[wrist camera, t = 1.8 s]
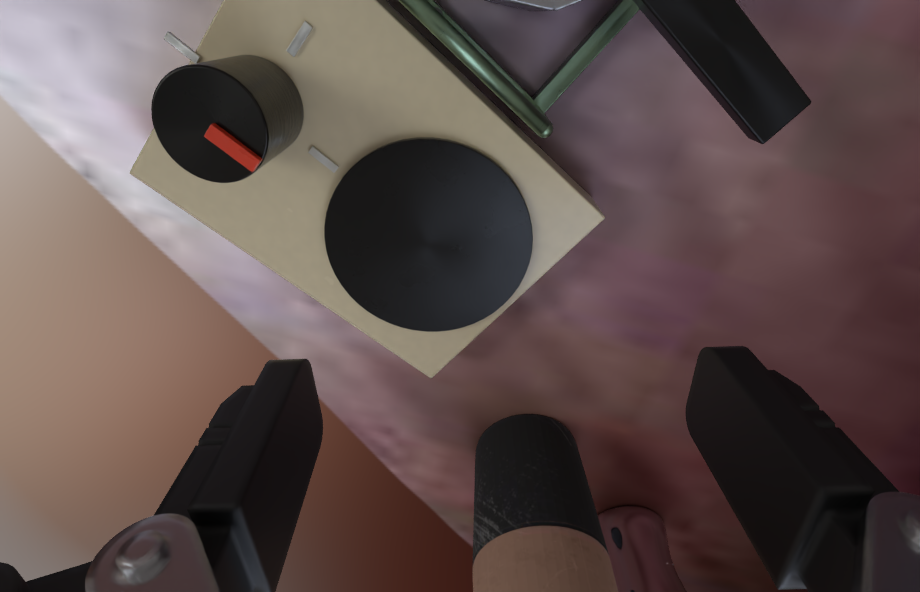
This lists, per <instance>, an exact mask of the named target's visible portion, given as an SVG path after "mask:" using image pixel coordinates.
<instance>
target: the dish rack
mask: <svg viewBox="0 0 920 592" xmlns="http://www.w3.org/2000/svg"><path fill="white" fill-rule="evenodd" d="M398 1H399V2H400V3H401V4H402V5H403V6H404V7H405V8H407V9H408V10H409V11H410V12H411V13H412V14H413V15H414V16H415V17H416V18H417V19H418V20H419V21H420V22H421V23H422V24H423V25H424V26H425V27H426V28H427V29H428V30H429V31H430V32H431V33H432V34H433V35H435V36H436V37H437V38H438V39H439V40H440V41H441V42H442V43H443V44H444V45H445V46H446V47H447V48H448V49H449V50H450V51H451V52H452V53H453V54H454V55H455V56H456V57H457V58H458V59H459V60H460V61H461V62H462V63H464V64H465V65H466V66H467V67H468V68H469V69H470V70H471V71H472V72H473V73H474V74H475V75H476V76H477V77H478V78H479V79H480V80H481V81H482V82H483V83H484V84H485V85H486V86H487V87H488V88H489V89H490V90H492V91H493V92H494V93H495V94H496V95H497V96H498V97H499V98H500V99H501V100H502V101H503V102H504V103H505V104H506V105H507V106H508V107H509V108H510V109H511V110H512V111H513V112H514V113H515V114H516V115H517V116H518V117H519V118H521V119H522V120H523V121H524V122H525V123H526V124H527V125H528V126H529V127H530V128H531V129H532V130H533V131H534V132H535V133H536V134H537V135H538V136H539V137H542V138H546V137H549V136H550V135H551V133H552V131H553V125H552V123H551V122H550V120H549V119H548V118H547V116H546V115H545V114H544V113H545V112H546V111H547V110H548V109H549V108H550V107H551V105H552V104H553V103H554V102H555V101H556V100H557V99H558V98H559V97H560V96H561V95H562V93H563V92H564V91H565V90H566V89H567V88H568V87H569V86H570V85H571V84H572V83H573V81H574V80H575V79H576V78H577V77H578V76H579V75H580V74H581V73H582V72H583V71H584V69H585V68H586V67H587V66H588V65H589V64H590V63H591V62H592V61H593V60H594V59H595V57H596V56H597V55H598V54H599V53H600V52H601V51H602V50H603V49H604V48H605V46H606V45H607V44H608V43H609V42H610V41H611V40H612V39H613V38H614V37H615V36H616V34H617V33H618V32H619V31H620V30H621V29H622V28H623V27H624V26H625V25H626V24H627V22H628V21H629V20H630V19H631V18H632V17H633V16H634V15H635V14H636V13H637V12H638V10H639V7H638V6H637V5H636V4H635V3H634V1H633V0H618V2H617V3H616V4H615V5H614V6H613V7H612V8H611V9H610V11H609V12H608V13H607V14H606V15H605V16H604V17H603V18H602V20H601V21H600V22H599V23H598V24H597V25H596V26H595V27H594V28H593V30H592V31H591V32H590V33H589V34H588V35H587V36H586V37H585V39H584V40H583V41H582V42H581V43H580V44H579V45H578V46H577V48H576V49H575V50H574V51H573V52H572V53H571V54H570V55H569V57H568V58H567V59H566V60H565V61H564V62H563V63H562V64H561V66H560V67H559V68H558V69H557V70H556V71H555V72H554V73H553V75H552V76H551V77H550V78H549V79H548V80H547V81H546V82H545V84H544V85H543V86H542V87H541V88H540V89H539V90H538V91H537V93H536V94H535V95H534V96H533V97H531V96H530V95H529V94H528V93H527V92H526V91H525V90H524V89H523V88H522V87H521V86H520V85H519V84H518V83H517V82H516V81H515V80H514V79H513V78H512V77H511V76H510V75H509V74H508V73H507V72H506V71H505V70H504V69H503V68H502V67H501V66H500V65H499V64H498V63H497V62H496V61H495V60H494V59H493V58H492V57H491V56H490V55H489V54H488V53H487V52H486V51H485V50H484V49H483V48H482V47H481V46H480V45H479V44H478V43H477V42H476V41H475V40H474V39H473V38H472V37H471V36H470V35H469V34H468V33H467V32H466V31H465V30H464V29H463V28H461V27H460V26H459V25H458V24H457V23H456V22H455V21H454V20H453V19H452V18H451V17H450V16H449V15H448V14H447V13H446V12H445V11H444V10H443V9H442V8H441V7H440V6H439V5H438V4H437V3H436V2H435V1H434V0H398Z"/></svg>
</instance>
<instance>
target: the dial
mask: <svg viewBox="0 0 920 592" xmlns="http://www.w3.org/2000/svg"><path fill="white" fill-rule="evenodd" d="M151 110H152V121H153V125H154V129H155V132H156V134H157V137H158V139H159V141H160V143H161V144H162V146H163V148H164V149H165V150H166V152H167V153H168V154H169V156H170V157H171V158H172V159H173V160H174V161H175V162H176V163H177V164H178V165H179V166H181V167H182V168H183V169H185V170H186V171H188V172H189V173H191V174H193V175H195V176H197V177H199V178H201V179H204V180H207V181H211V182H217V183H232V182H237V181H240V180H243V179H245V178H247V177H249V176H250V175H252V174H253V173H255V172H256V171H257V170H259V169H260V168H261V167H263V166H264V165H265V164H267V163H268V162H269V161H271V160H272V159H273V158H275V157H276V156H277V155H279V154H280V153H281V152H283V151H284V150H285V149H286V148H288V147H289V146H290V145H291V144H292V143H293V142H294V141H295V140H296V139H297V137H298V135H299V134H300V131H301V129H302V125H303V118H304V110H303V103H302V100H301V96H300V94H299V91H298V89H297V87H296V86H295V84H294V82H293V81H292V79H291V78H290V77H289V76H288V75H287V73H286V72H285V71H283V70H282V69H281V68H280V67H279V66H277V65H276V64H275V63H273V62H271V61H269V60H267V59H265V58H262V57H259V56H255V55H238V56H233V57H227V58H222V59H217V60H212V61H206V62H201V63H196V64H190V65H185V66H182V67H179V68H176V69H174V70H172V71H171V72H169V73H168V74H167V75H165V77H164V78H163V79H162V80H161V81H160V83H159V84H158V86H157V88H156V90H155V92H154V96H153V100H152V108H151Z"/></svg>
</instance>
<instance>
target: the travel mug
mask: <svg viewBox="0 0 920 592" xmlns="http://www.w3.org/2000/svg"><path fill="white" fill-rule="evenodd" d="M473 592H618V589H617V585H616V581H615V577H614V573H613V569H612V565H611V561H610V557H609V554H608V550H607V546H606V543H605V540H604V536H603V533H602V529H601V526H600V523H599V519H598V516H597V512H596V509H595V506H594V502H593V499H592V495H591V492H590V489H589V485H588V482H587V478H586V475H585V471H584V468H583V465H582V461H581V458H580V455H579V451H578V448H577V445H576V442H575V440H574V438H573V436H572V434H571V433H570V431H569V430H568V429H567V428H566V427H565V426H564V425H562V424H561V423H559V422H558V421H556V420H554V419H552V418H549V417H546V416H541V415H534V414H523V415H515V416H511V417H508V418H505V419H502V420H500V421H498V422H496V423H494V424H493V425H492V426H490V427H489V428H488V429H487V430H486V431H485V432H484V433H483V434H482V436H481V437H480V439H479V442H478V444H477V448H476V459H475V493H474V535H473Z"/></svg>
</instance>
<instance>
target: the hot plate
mask: <svg viewBox="0 0 920 592" xmlns="http://www.w3.org/2000/svg"><path fill="white" fill-rule="evenodd" d="M164 40H166V41H167V42H168V43H169V44H171V45H172V46H173V47H175V48H176V49H177V50H178V51H180V52H181V53H182V54H183V55H185V56H186V57H187V58H189V59H190V60H191V61H190V63H189V65H190V64H196V63H201V62H206V61H212V60H217V59H222V58H227V57H233V56H238V55H255V56H259V57H262V58H265V59H267V60H269V61H271V62H273V63H275V64H276V65H277V66H279V67H280V68H281V69H282V70H283V71H285V72H286V73H287V75H288V76H289V77H290V78H291V79H292V81H293V82H294V84H295V86H296V87H297V89H298V91H299V94H300V96H301V100H302V103H303V110H304V118H303V125H302V129H301V131H300V134H299V135H298V137H297V139H296V140H295V141H294V142H293V143H292V144H291V145H290V146H289V147H288V148H286V149H285V150H284V151H283V152H281V153H280V154H279V155H277V156H276V157H275V158H273V159H272V160H271V161H269V162H268V163H267V164H265V165H264V166H263V167H261V168H260V169H259V170H257V171H256V172H255V173H253V174H252V175H250V176H249V177H247V178H245V179H243V180H240V181H237V182H232V183H217V182H211V181H207V180H204V179H201V178H199V177H197V176H195V175H193V174H191V173H189V172H188V171H186V170H185V169H183V168H182V167H181V166H179V165H178V164H177V163H176V162H175V161H174V160H173V159H172V158H171V157H170V156H169V154H168V153H167V152H166V150H165V149H164V148H163V146H162V144H161V143H160V141H159V139H158V137H157V134H156V132H155V129H153V130H152V132H151V134H150V136H149V138H148V140H147V141H146V143H145V145H144V147H143V149H142V151H141V152H140V154H139V156H138V158H137V160H136V161H135V163H134V165H133V167H132V169H131V171H130V174H131V175H133V176H134V177H136V178H137V179H139V180H140V181H142V182H143V183H145V184H146V185H147V186H149V187H150V188H152V189H153V190H155V191H156V192H158V193H159V194H161V195H162V196H164V197H165V198H167V199H168V200H169V201H171V202H172V203H174V204H175V205H177V206H178V207H180V208H181V209H183V210H184V211H186V212H187V213H189V214H190V215H192V216H193V217H194V218H196V219H197V220H199V221H200V222H202V223H203V224H205V225H206V226H208V227H209V228H211V229H212V230H214V231H215V232H216V233H218V234H219V235H221V236H222V237H224V238H225V239H227V240H228V241H230V242H231V243H233V244H234V245H236V246H237V247H239V248H240V249H241V250H243V251H244V252H246V253H247V254H249V255H250V256H252V257H253V258H255V259H256V260H258V261H259V262H261V263H262V264H263V265H265V266H266V267H268V268H269V269H271V270H272V271H274V272H275V273H277V274H278V275H280V276H281V277H283V278H284V279H286V280H287V281H288V282H290V283H291V284H293V285H294V286H296V287H297V288H299V289H300V290H302V291H303V292H305V293H306V294H308V295H309V296H310V297H312V298H313V299H315V300H316V301H318V302H319V303H321V304H322V305H324V306H325V307H327V308H328V309H330V310H331V311H333V312H334V313H335V314H337V315H338V316H340V317H341V318H343V319H344V320H346V321H347V322H349V323H350V324H352V325H353V326H355V327H356V328H357V329H359V330H360V331H362V332H363V333H365V334H366V335H368V336H369V337H371V338H372V339H374V340H375V341H377V342H378V343H380V344H381V345H382V346H384V347H385V348H387V349H388V350H390V351H391V352H393V353H394V354H396V355H397V356H399V357H400V358H402V359H403V360H404V361H406V362H407V363H409V364H410V365H412V366H413V367H415V368H416V369H418V370H419V371H421V372H422V373H424V374H425V375H427V376H428V377H429V378H433V377H434V376H435V375H436V374H437V373H438V372H439V371H440V370H441V369H442V368H443V367H445V366H446V365H447V364H448V363H449V362H450V361H451V360H452V359H453V358H454V357H455V356H456V355H457V354H459V353H460V352H461V351H462V350H463V349H464V348H465V347H466V346H467V345H468V344H469V343H470V342H472V341H473V340H474V339H475V338H476V337H477V336H478V335H479V334H480V333H481V332H482V331H483V330H485V329H486V328H487V327H488V326H489V325H490V324H491V323H492V322H493V321H494V320H495V319H496V318H498V317H499V316H500V315H501V314H502V313H503V312H504V311H505V310H506V309H507V308H508V307H509V306H511V305H512V304H513V303H514V302H515V301H516V300H517V299H518V298H519V297H520V296H521V295H522V294H524V293H525V292H526V291H527V290H528V289H529V288H530V287H531V286H532V285H533V284H534V283H535V282H537V281H538V280H539V279H540V278H541V277H542V276H543V275H544V274H545V273H546V272H547V271H548V270H550V269H551V268H552V267H553V266H554V265H555V264H556V263H557V262H558V261H559V260H560V259H561V258H562V257H564V256H565V255H566V254H567V253H568V252H569V251H570V250H571V249H572V248H573V247H574V246H575V245H577V244H578V243H579V242H580V241H581V240H582V239H583V238H584V237H585V236H586V235H587V234H588V233H590V232H591V231H592V230H593V229H594V228H595V227H596V226H597V225H598V224H599V223H600V222H601V221H603V220H604V218H605V216H604V215H603V213H602V212H601V210H600V209H599V207H598V206H597V204H596V203H595V201H594V200H593V199H592V197H591V196H590V195H589V194H588V193H587V192H586V191H585V190H584V189H583V188H581V187H580V186H579V185H578V184H577V183H576V182H575V181H574V180H573V179H572V178H571V177H570V176H569V175H568V174H567V173H566V172H565V171H564V170H563V169H562V168H561V167H559V166H558V165H557V164H556V163H555V162H554V161H553V160H552V159H551V158H550V157H549V156H548V155H547V154H546V153H545V152H544V151H543V150H542V149H541V148H540V147H539V146H538V145H536V144H535V143H534V142H533V141H532V140H531V139H530V138H529V137H528V136H527V135H526V134H525V133H524V132H523V131H522V130H521V129H520V128H519V127H518V126H517V125H516V124H514V123H513V122H512V121H511V120H510V119H509V118H508V117H507V116H506V115H505V114H504V113H503V112H502V111H501V110H500V109H499V108H498V107H497V106H496V105H495V104H494V103H493V102H491V101H490V100H489V99H488V98H487V97H486V96H485V95H484V94H483V93H482V92H481V91H480V90H479V89H478V88H477V87H476V86H475V85H474V84H473V83H472V82H471V81H469V80H468V79H467V78H466V77H465V76H464V75H463V74H462V73H461V72H460V71H459V70H458V69H457V68H456V67H455V66H454V65H453V64H452V63H451V62H450V61H449V60H447V59H446V58H445V57H444V56H443V55H442V54H441V53H440V52H439V51H438V50H437V49H436V48H435V47H434V46H433V45H432V44H431V43H430V42H429V41H428V40H427V39H426V38H424V37H423V36H422V35H421V34H420V33H419V32H418V31H417V30H416V29H415V28H414V27H413V26H412V25H411V24H410V23H409V22H408V21H407V20H406V19H405V18H404V17H402V16H401V15H400V14H399V13H398V12H397V11H396V10H395V9H394V8H393V7H392V6H391V5H390V4H389V3H388V2H387V1H386V0H224V1H223V3H222V4H221V6H220V8H219V10H218V12H217V14H216V15H215V17H214V19H213V21H212V23H211V24H210V26H209V28H208V30H207V32H206V34H205V35H204V37H203V39H202V41H201V43H200V45H199V46H198V48H197V50H196V52H195V51H193V50H192V49H191V48H190V47H188V46H187V45H186V44H185V43H183V42H182V41H181V40H180V39H178V38H177V37H176V36H175V35H173V34H172V33H171V32H167V34H166V36H165V38H164ZM416 137H434V138H442V139H448V140H452V141H456V142H459V143H463V144H465V145H467V146H470V147H472V148H474V149H476V150H478V151H480V152H482V153H483V154H485V155H487V156H488V157H490V158H491V159H492V160H493V161H495V162H496V163H497V164H498V165H500V166H501V167H502V168H503V169H504V170H505V171H506V173H507V174H508V175H509V176H510V177H511V178H512V180H513V181H514V182H515V184H516V185H517V187H518V188H519V190H520V192H521V194H522V196H523V198H524V200H525V203H526V205H527V208H528V211H529V214H530V219H531V224H532V233H533V245H532V254H531V258H530V263H529V266H528V269H527V271H526V274H525V276H524V278H523V280H522V282H521V284H520V286H519V287H518V288H517V290H516V291H515V293H514V294H513V295H512V296H511V297H510V299H509V300H508V301H507V302H506V303H505V304H504V305H503V306H501V307H500V308H499V309H498V310H497V311H495V312H494V313H492V314H491V315H489V316H488V317H486V318H485V319H483V320H480V321H478V322H476V323H474V324H472V325H469V326H466V327H463V328H459V329H454V330H449V331H440V332H425V331H416V330H410V329H406V328H401V327H398V326H396V325H393V324H390V323H388V322H385V321H383V320H381V319H379V318H377V317H376V316H374V315H372V314H371V313H369V312H368V311H366V310H365V309H364V308H363V307H361V306H360V305H359V304H358V303H357V302H356V301H355V300H354V299H353V298H352V297H351V296H350V295H349V294H348V293H347V292H346V291H345V289H344V288H343V287H342V285H341V284H340V282H339V280H338V279H337V277H336V276H335V274H334V271H333V269H332V267H331V265H330V262H329V258H328V255H327V252H326V245H325V239H324V225H325V218H326V212H327V208H328V205H329V202H330V199H331V197H332V195H333V193H334V190H335V188H336V187H337V185H338V184H339V182H340V181H341V179H342V178H343V176H344V175H345V174H346V173H347V172H348V171H349V169H350V168H351V167H352V166H353V165H354V164H355V163H357V162H358V161H359V160H360V159H361V158H363V157H364V156H365V155H367V154H369V153H370V152H372V151H373V150H375V149H377V148H379V147H382V146H384V145H386V144H388V143H392V142H395V141H399V140H402V139H409V138H416Z"/></svg>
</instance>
